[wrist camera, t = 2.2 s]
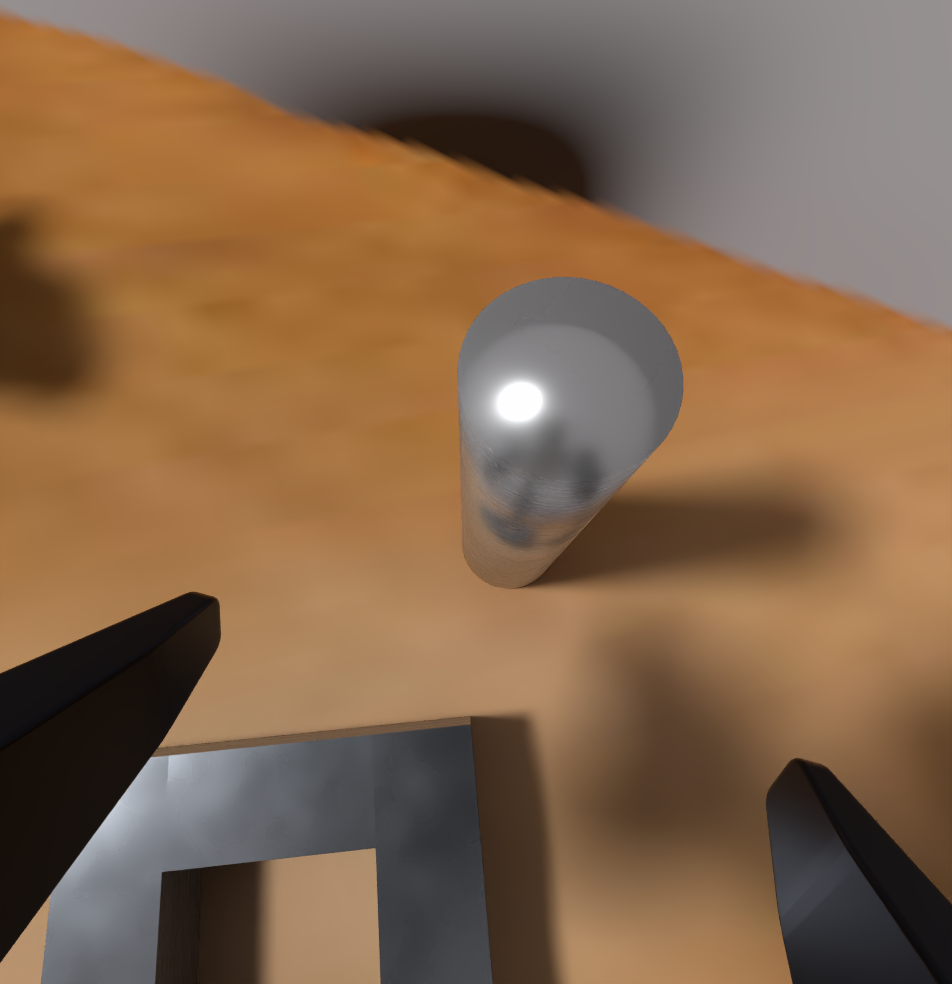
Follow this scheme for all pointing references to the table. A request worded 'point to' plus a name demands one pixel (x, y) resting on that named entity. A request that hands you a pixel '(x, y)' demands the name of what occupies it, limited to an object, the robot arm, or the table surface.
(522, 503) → the axle
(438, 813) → the block
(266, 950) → the table surface
